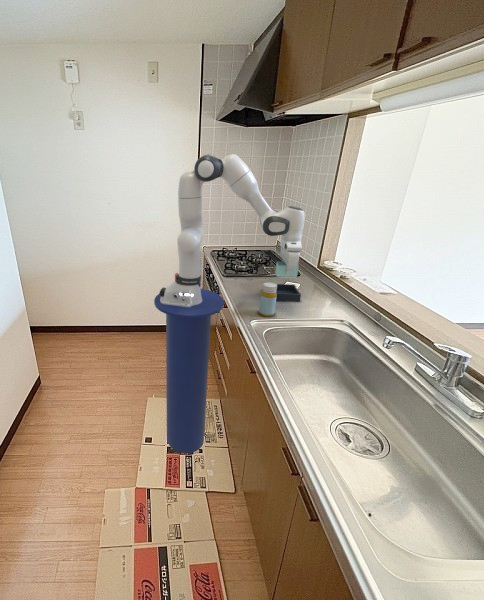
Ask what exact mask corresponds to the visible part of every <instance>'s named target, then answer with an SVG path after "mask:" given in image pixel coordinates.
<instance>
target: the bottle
mask: <svg viewBox="0 0 484 600" xmlns="http://www.w3.org/2000/svg"><path fill="white" fill-rule="evenodd" d="M277 284H278V283H275V282H271V281H269V282H264V283H263V284H262V291H261V292H260V298H259V299H260V301H259V309H258V313H259V314H260V316H263V317H268V318H269V317H272V316H274V315H275V311H276V305H277V301H276V298H277V293H276V290H277Z"/></svg>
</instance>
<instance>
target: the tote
mask: <svg viewBox="0 0 484 600" xmlns="http://www.w3.org/2000/svg"><path fill="white" fill-rule="evenodd" d="M276 284H277V290H276V293H277V298H276V302H294V303H295V302H297V303H298V302H299V303H300V302H301V297H302V294H301V292H300V291H299V289H298V288H297V287H296V284H288V283H276Z"/></svg>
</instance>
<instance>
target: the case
mask: <svg viewBox="0 0 484 600" xmlns="http://www.w3.org/2000/svg"><path fill="white" fill-rule="evenodd" d="M299 267H300V264H298V265H297V267H296V268H291V271H290V274H286V269H287V265H286V263H285V262H283V261H276V265H275V272H274V274H275V276H276V277H277V278H297V277H298V271H299Z"/></svg>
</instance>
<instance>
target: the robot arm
mask: <svg viewBox="0 0 484 600" xmlns="http://www.w3.org/2000/svg"><path fill="white" fill-rule="evenodd" d="M218 178H221V179H222V180H224V181H225V183H226V184H227V185H228V187H229V189H230V190H231V191H232V192H233V193H234V194H235V195H236V196H237V197H239V198H240V199H242V200H245V201H246V202H248V204H249V205H250V207H252V209H253V210H254V211H255V213H256V214H257V215H258V218H259V221H260V226H261V228H262V231H263V232H264V233H265V234H266V235H267V236H269V237H274V236H275V237H276V236H281V237H280V242H279V243H280V244H279V246H280V251H279V253H280V254H279V256H280V258H281V259H282V262H285V263H286V265H287V269H286V274H290V271H291V268H296V267H297V265H299V260H300V256H301V252H302V251H303V245H302V238H303V230H304V227H305V219H306V213H305V210H304V209H302V208H301V207H298V206H293V205H290V206H289V205H288V206H287V207H285V208H284V209H282V210H280V211H277V210H275V209H273V208H272V207H271V206H270V205H269V204H268V202H267V201H266V200H265V198H264V197H263V195H262V194H261V191H260V188H259V184H258V181H257V179H256V177H255V175H254V174H253V171H252V170H251V169H250V167H249V166H248V165H247V164H246V163H245V161H244V160H243V159H242V158H240V156H238V155H237V154H235V153H231V154H228V155H226V156H225V157H223V158H222V159H221V158H218V157H216V156H215V155H214V154H209V153H208V154H203V155H202V156H200V157H199V158H198V159H197V160H196V162H195V164H194V166H193V170H191V171H186V172H184V173H182V174H181V175H180V177H179V180H178V181H179V182H178V191H177V201H178V202H177V203H178V217H179V223H180V233H179V234H178V236H177V239H176V241H177V254H178V255H177V257H178V272H176V273H174V281H173V282H171V283H170V284H168V285H167V286H166V287H162V288H161V289H159V292H158V294H160V296H161V297H160V302H161V304H165V305H172V306H180V307H191V306H194V305H198V304H200V303H201V302H202V297H201V290H200V289H201V286H202V275H201V267H202V257H201V245H202V241H203V239H204V224H203V194H202V193H203V185H204V183H207V182H208V183H209V182H211V181H214V180H216V179H218Z"/></svg>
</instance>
